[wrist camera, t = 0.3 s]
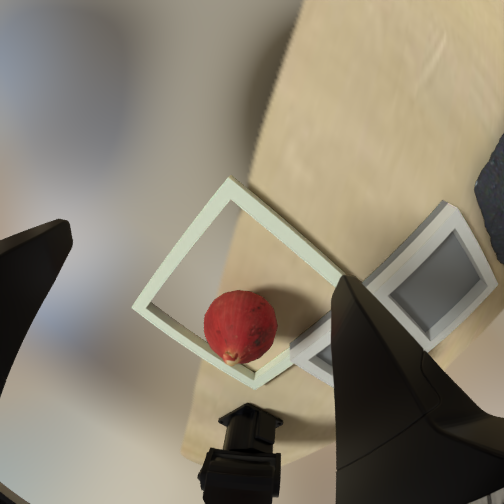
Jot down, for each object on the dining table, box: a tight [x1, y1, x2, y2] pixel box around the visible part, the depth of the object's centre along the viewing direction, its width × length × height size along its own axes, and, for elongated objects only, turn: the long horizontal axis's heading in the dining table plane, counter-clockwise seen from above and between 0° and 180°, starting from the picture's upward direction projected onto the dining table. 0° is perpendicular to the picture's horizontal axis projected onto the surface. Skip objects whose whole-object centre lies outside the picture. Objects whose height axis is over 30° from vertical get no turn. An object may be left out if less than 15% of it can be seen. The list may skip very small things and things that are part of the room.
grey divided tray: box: [290, 200, 498, 388], centre depth 24 cm, size 20×11×2 cm, turn 140°
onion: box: [204, 290, 278, 366], centre depth 22 cm, size 6×6×8 cm
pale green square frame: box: [131, 175, 346, 390], centre depth 25 cm, size 16×16×1 cm
